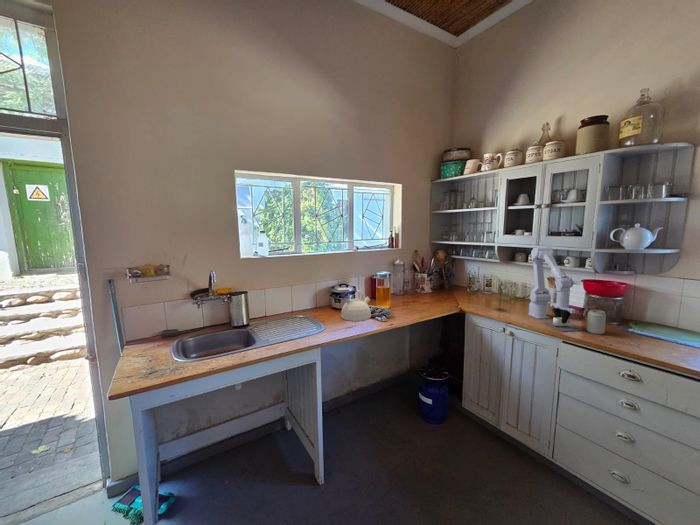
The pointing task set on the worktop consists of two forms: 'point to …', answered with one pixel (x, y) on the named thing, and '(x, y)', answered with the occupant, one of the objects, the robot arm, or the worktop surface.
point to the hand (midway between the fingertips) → (561, 322)
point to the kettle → (356, 308)
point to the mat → (562, 327)
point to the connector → (559, 321)
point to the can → (596, 321)
